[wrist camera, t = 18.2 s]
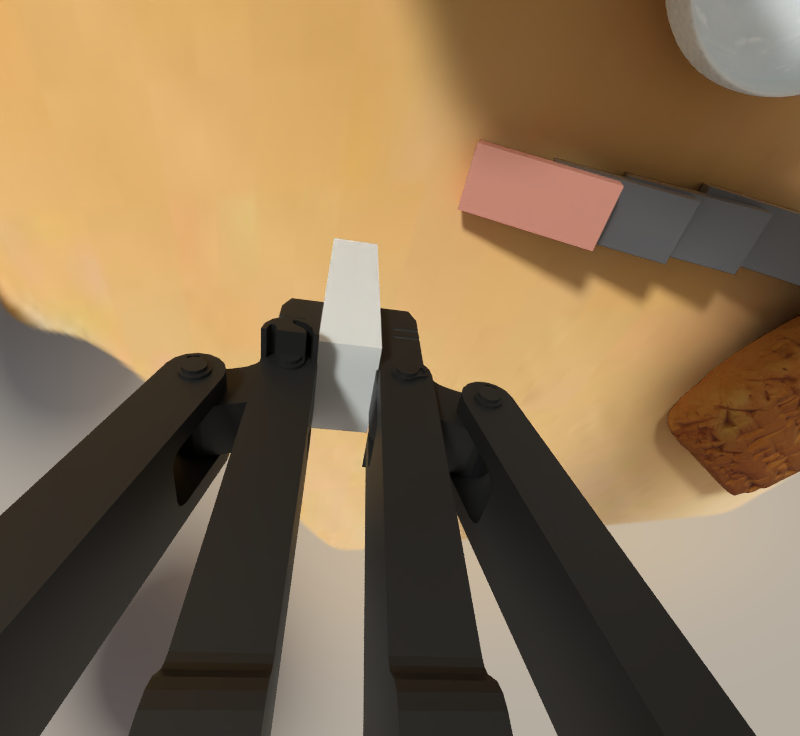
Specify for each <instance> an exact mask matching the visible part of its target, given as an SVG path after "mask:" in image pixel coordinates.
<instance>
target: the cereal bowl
mask: <svg viewBox="0 0 800 736" xmlns="http://www.w3.org/2000/svg"><path fill="white" fill-rule="evenodd" d="M665 1H666V4H665V7H666V9H667V16H668V18H669V19H668V21H669V23H670V26H671V30H672V32H673V36H674V37H675V39H676V43H677V45H678V46H679V48H680V49H681V52H682V53H683V54H684V57H685V58H686V59H688V61H689V62H690V64H691V65H692V66H693V67H695V69H696V70H697V71H698V72H699V73H701V74H703V75H704V76H705V77H706V78H707V79H709V80H711V81H713V82H714V83H716V84H718V85H720V86H723V87H725V88H726V89H730V90H734V91H736V92H740V93H745V94H747V95H754V96H758V97H788V96H796V95H800V0H665Z"/></svg>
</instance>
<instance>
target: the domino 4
mask: <svg viewBox="0 0 800 736" xmlns="http://www.w3.org/2000/svg"><path fill="white" fill-rule="evenodd" d="M699 192H703V193H706V194H710V195H714V196H718V197H722V198H726V199H729V200H733V201H737V202H741V203H745V204H749V205H753V206H756V207H760V208H764V209H765V210H767V211H768V212H770V213H772V214H773V215H772V217H771V218H770V220H769V222H768V223H767V225H766V226H765V228H764V229H763V231H762V233H761V234H760V236H759V237H758V239H757V240H756V242H755V244H754V245H753V247H752V248H751V250H750V251H749V253H748V255H747V256H746V258H745V259H744V261H743V262H742V264H741V267H744V268H747V269H750V270H753V271H756V272H759V273H762V274H765V275H768V276H771V277H774V278H777V279H780V280H784V281H787V282H790V283H793V284H796V285H799V286H800V212H797V211H794V210H791V209H788V208H784V207H781V206H778V205H775V204H772V203H768V202H765V201H762V200H759V199H756V198H752V197H749V196H746V195H743V194H740V193H736V192H733V191H730V190H727V189H723V188H720V187H717V186H714V185H711V184H707V183H703V184H702V186H701V188H700V190H699Z"/></svg>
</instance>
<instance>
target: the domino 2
mask: <svg viewBox="0 0 800 736" xmlns="http://www.w3.org/2000/svg"><path fill="white" fill-rule="evenodd" d="M554 162H557V163H561V164H564V165H567V166H571V167H574V168H577V169H581V170H584V171H588V172H591V173H594V174H598V175H601V176H604V177H608V178H611V179H614V180H618V181H620V182H621V183H622V184H623V186H624V187H623V189H622V191H621V193H620V195H619V197H618V199H617V202H616V204H615V206H614V208H613V210H612V212H611V214H610V216H609V218H608V220H607V222H606V224H605V227H604V229H603V231H602V233H601V235H600V237H599V239H598V241H597V243H596V244H597V245H601V246H604V247H608V248H611V249H614V250H618V251H621V252H625V253H628V254H631V255H635V256H638V257H642V258H645V259H649V260H652V261H655V262H659V263H662V264H666V263H667V261H668V259H669V257H670V255H671V254H672V252H673V250H674V248H675V246H676V245H677V243H678V241H679V239H680V237H681V236H682V234H683V232H684V230H685V229H686V227H687V225H688V223H689V221H690V220H691V218H692V216H693V214H694V212H695V211H696V209H697V207H698V205H699V204H700V201H699V200H697V199H696V198H695V197H694V196H691V195H687V194H683V193H680V192H676V191H673V190H669V189H665V188H662V187H658V186H655V185H651V184H647V183H644V182H640V181H637V180H633V179H629V178H626V177H622V176H618V175H615V174H611V173H608V172H604V171H600V170H597V169H593V168H590V167H586V166H582V165H579V164H575V163H572V162H568V161H564V160H561V159H557V158H555V159H554Z"/></svg>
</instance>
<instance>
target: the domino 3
mask: <svg viewBox="0 0 800 736" xmlns="http://www.w3.org/2000/svg"><path fill="white" fill-rule="evenodd" d="M623 177H626V178H629V179H633V180H637V181H640V182H644V183H647V184H651V185H655V186H658V187H662V188H665V189H669V190H673V191H676V192H680V193H683V194H687V195H691V196H694V197H695V198H696V199H697V200H699V201H700V204H699V205H698V207H697V209H696V211H695V212H694V214H693V216H692V218H691V220H690V221H689V223H688V225H687V227H686V229H685V230H684V232H683V234H682V236H681V237H680V239H679V241H678V243H677V245H676V246H675V248H674V250H673V252H672V254H671V255H670V257H673V258H676V259H680V260H683V261H687V262H691V263H694V264H698V265H702V266H705V267H709V268H712V269H716V270H720V271H723V272H727V273H731V274H734V275H735V273H736V272H737V270H738V269H739V267H740V266H741V264H742V262H743V261H744V259H745V258H746V256H747V255H748V253H749V251H750V250H751V248H752V247H753V245H754V244H755V242H756V240H757V239H758V237H759V236H760V234H761V233H762V231H763V229H764V228H765V226H766V225H767V223H768V222H769V220H770V218H771V217H772V215H773V214H772V213H770V212H768V211H767V210H765V209H764V208H760V207H756V206H753V205H749V204H745V203H741V202H737V201H733V200H729V199H726V198H722V197H718V196H714V195H710V194H706V193H703V192H699V191H695V190H691V189H687V188H683V187H680V186H676V185H672V184H668V183H664V182H660V181H657V180H653V179H649V178H645V177H641V176H637V175H634V174H630V173H626V172H625V174H624V176H623Z"/></svg>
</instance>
